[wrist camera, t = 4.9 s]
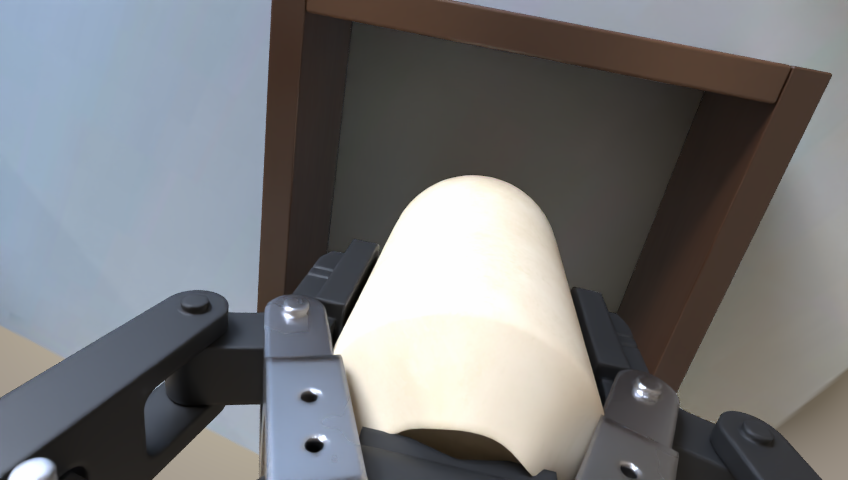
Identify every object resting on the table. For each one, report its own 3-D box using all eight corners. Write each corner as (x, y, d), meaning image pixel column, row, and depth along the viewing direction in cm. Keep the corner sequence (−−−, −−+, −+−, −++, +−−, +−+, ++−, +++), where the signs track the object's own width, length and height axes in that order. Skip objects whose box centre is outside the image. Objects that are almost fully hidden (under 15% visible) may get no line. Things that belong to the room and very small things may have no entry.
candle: (491, 346, 19) (487, 656, 9) (364, 266, 18) (229, 516, 9) (590, 233, 16) (709, 496, 7) (450, 139, 16) (387, 295, 7)
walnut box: (299, 322, 24) (252, 390, 20) (329, -19, 18) (272, -35, 14) (607, 395, 23) (632, 484, 19) (747, 61, 17) (834, 73, 13)
